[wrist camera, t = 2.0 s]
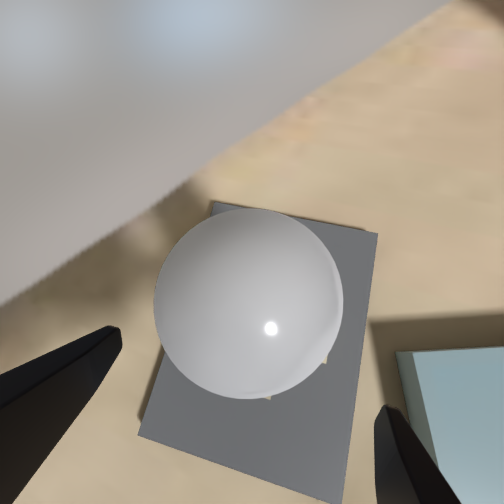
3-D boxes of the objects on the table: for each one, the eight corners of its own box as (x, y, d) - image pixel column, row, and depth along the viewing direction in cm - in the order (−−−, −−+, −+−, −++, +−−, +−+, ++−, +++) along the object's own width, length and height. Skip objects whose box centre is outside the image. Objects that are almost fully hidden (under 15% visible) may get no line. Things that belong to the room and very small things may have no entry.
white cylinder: (306, 363, 17) (359, 394, 6) (232, 367, 18) (148, 403, 6) (298, 289, 19) (327, 200, 7) (230, 294, 19) (158, 216, 8)
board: (337, 497, 16) (348, 528, 13) (144, 430, 18) (121, 445, 15) (373, 238, 20) (387, 222, 18) (217, 208, 22) (209, 189, 20)
